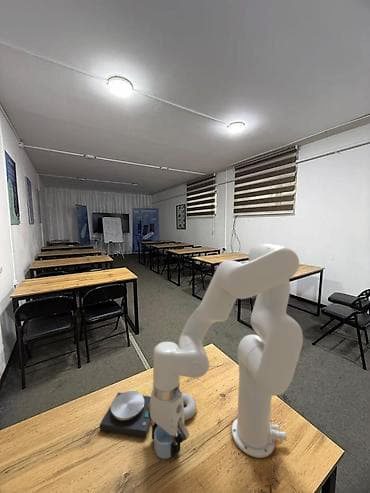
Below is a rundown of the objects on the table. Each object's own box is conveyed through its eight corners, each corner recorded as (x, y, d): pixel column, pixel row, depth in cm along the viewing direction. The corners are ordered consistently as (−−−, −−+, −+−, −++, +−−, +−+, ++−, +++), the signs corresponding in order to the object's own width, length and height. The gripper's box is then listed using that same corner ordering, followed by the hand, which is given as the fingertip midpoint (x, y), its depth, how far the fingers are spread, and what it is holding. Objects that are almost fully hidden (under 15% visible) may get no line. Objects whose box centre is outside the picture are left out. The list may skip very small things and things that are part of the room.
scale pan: (148, 395, 76) (148, 392, 76) (137, 422, 65) (137, 420, 65) (119, 391, 77) (119, 389, 77) (104, 417, 66) (104, 415, 66)
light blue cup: (178, 437, 64) (179, 423, 64) (175, 461, 58) (175, 446, 57) (157, 434, 65) (157, 420, 65) (151, 457, 59) (151, 442, 58)
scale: (157, 403, 77) (157, 396, 76) (145, 438, 64) (146, 430, 64) (118, 398, 79) (118, 391, 78) (99, 431, 66) (99, 423, 66)
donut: (164, 420, 70) (193, 426, 68) (164, 411, 70) (193, 416, 68) (172, 397, 80) (198, 401, 78) (172, 388, 80) (198, 392, 78)
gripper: (198, 394, 58) (197, 453, 59) (154, 367, 68) (154, 418, 70) (182, 412, 52) (180, 477, 53) (136, 380, 62) (136, 435, 64)
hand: (165, 443), depth 61 cm, fingers closed on light blue cup, 7 cm apart
